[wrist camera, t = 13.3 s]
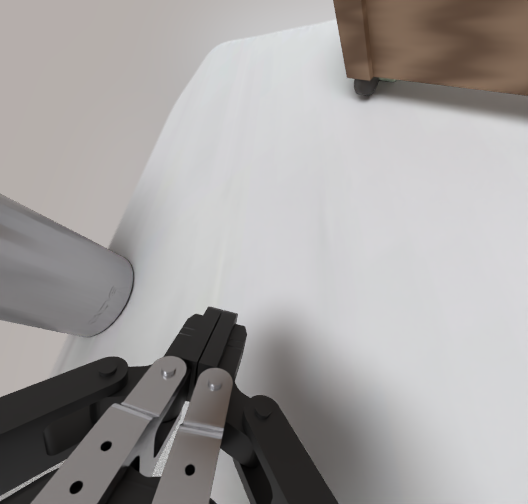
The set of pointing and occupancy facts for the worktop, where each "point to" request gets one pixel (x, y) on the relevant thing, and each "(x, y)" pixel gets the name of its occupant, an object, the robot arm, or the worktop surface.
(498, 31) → the gate
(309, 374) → the worktop surface
